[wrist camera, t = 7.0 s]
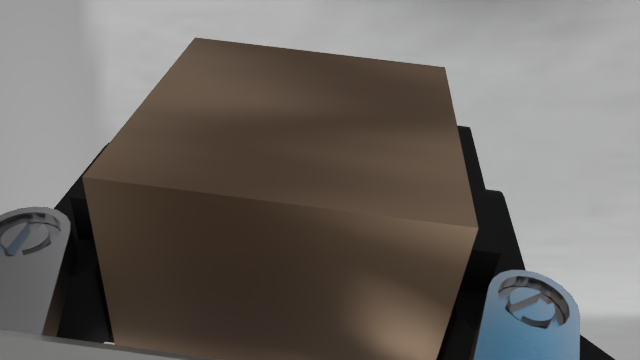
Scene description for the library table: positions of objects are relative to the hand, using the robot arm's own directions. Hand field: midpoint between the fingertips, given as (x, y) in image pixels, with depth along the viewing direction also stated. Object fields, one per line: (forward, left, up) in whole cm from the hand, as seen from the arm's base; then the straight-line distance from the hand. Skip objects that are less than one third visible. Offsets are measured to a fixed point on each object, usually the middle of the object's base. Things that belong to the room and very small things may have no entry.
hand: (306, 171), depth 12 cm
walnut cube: (0, 0, -1) cm, 1 cm away
